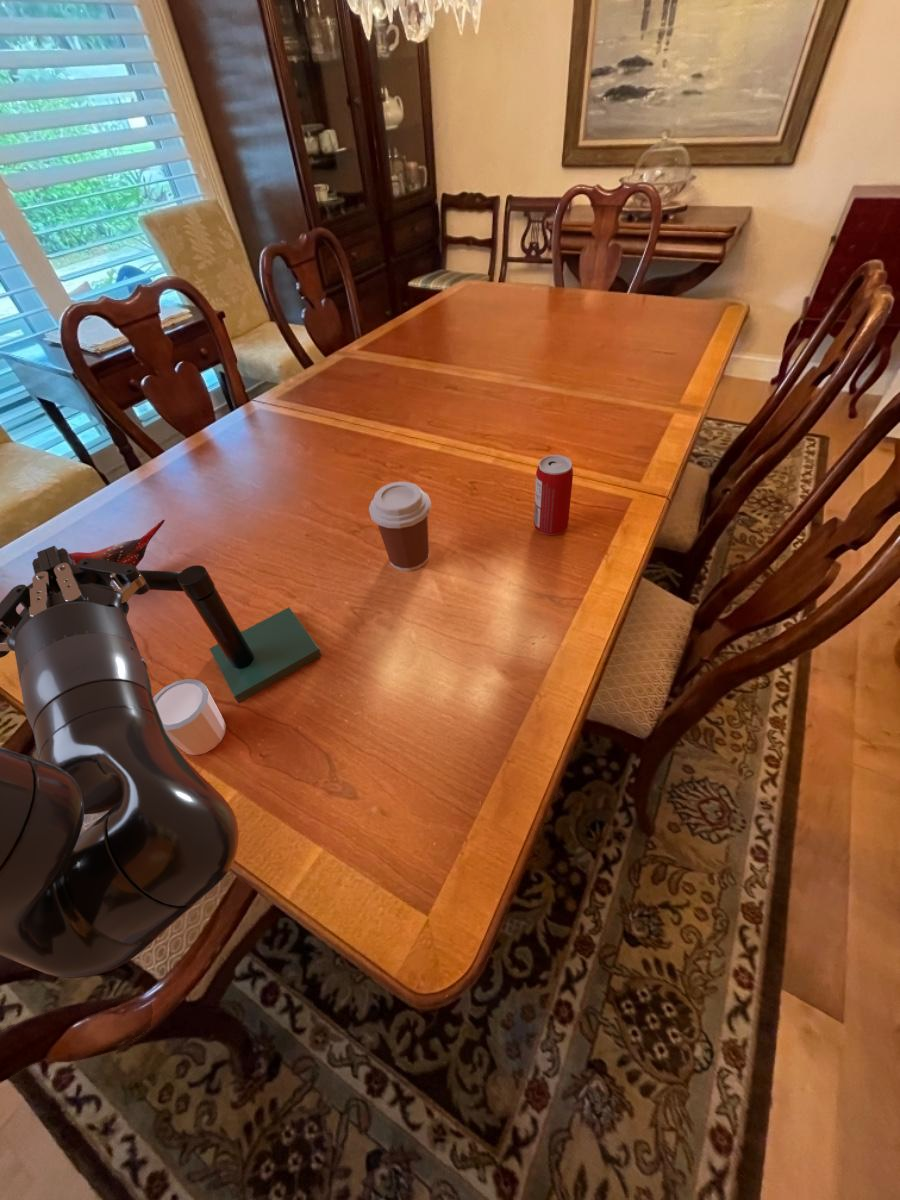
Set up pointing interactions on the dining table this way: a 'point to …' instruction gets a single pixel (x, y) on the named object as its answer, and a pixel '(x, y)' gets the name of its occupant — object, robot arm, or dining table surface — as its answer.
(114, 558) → the decorative bird figurine
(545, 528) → the soda can
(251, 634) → the faucet
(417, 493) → the coffee cup
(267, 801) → the dining table surface
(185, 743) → the shot glass
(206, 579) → the spout
